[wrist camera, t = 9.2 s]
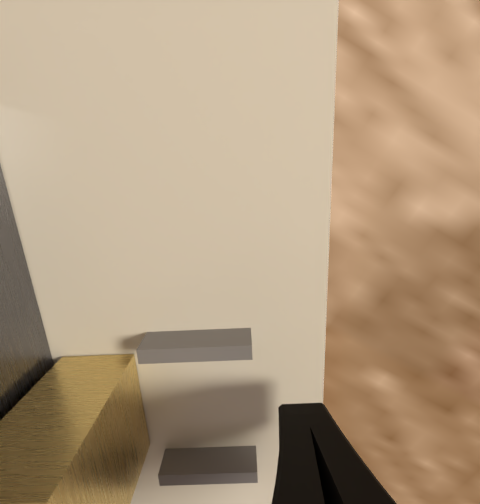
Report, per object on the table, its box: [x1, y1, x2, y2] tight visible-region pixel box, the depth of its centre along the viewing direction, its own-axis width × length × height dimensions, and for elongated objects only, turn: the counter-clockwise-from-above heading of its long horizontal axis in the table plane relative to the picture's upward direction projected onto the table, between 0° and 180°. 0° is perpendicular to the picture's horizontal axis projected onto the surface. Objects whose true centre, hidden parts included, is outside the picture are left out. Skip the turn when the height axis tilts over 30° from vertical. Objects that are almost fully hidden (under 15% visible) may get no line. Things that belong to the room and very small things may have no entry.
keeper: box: [0, 354, 150, 504], centre depth 8 cm, size 4×2×4 cm, turn 3°
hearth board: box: [0, 0, 339, 504], centre depth 9 cm, size 24×20×4 cm
